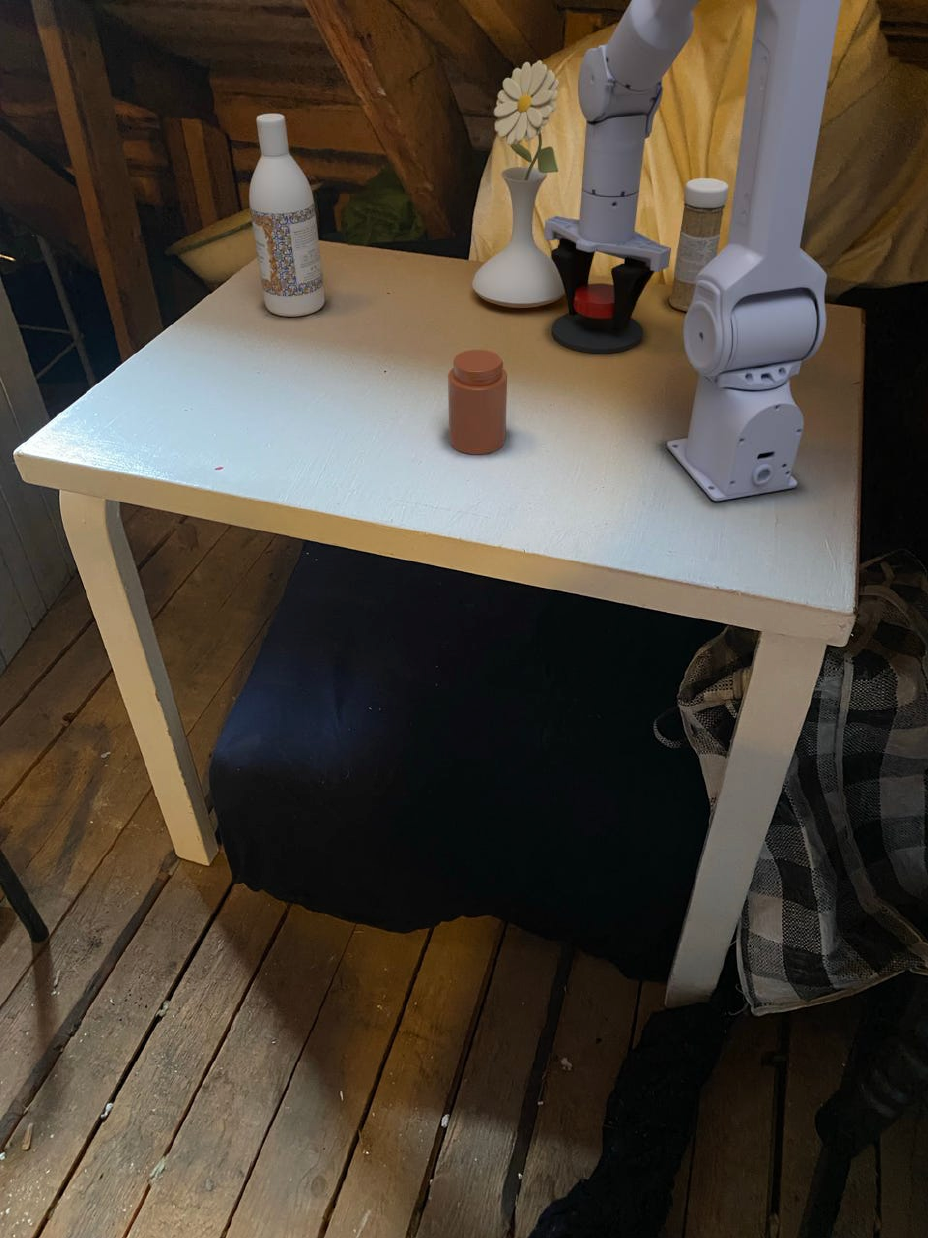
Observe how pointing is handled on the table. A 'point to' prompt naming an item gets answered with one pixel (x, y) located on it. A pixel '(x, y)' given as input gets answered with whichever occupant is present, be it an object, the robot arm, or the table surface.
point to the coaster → (595, 334)
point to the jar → (477, 402)
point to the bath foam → (284, 226)
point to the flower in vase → (523, 194)
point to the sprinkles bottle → (697, 236)
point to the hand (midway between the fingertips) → (598, 319)
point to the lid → (595, 300)
